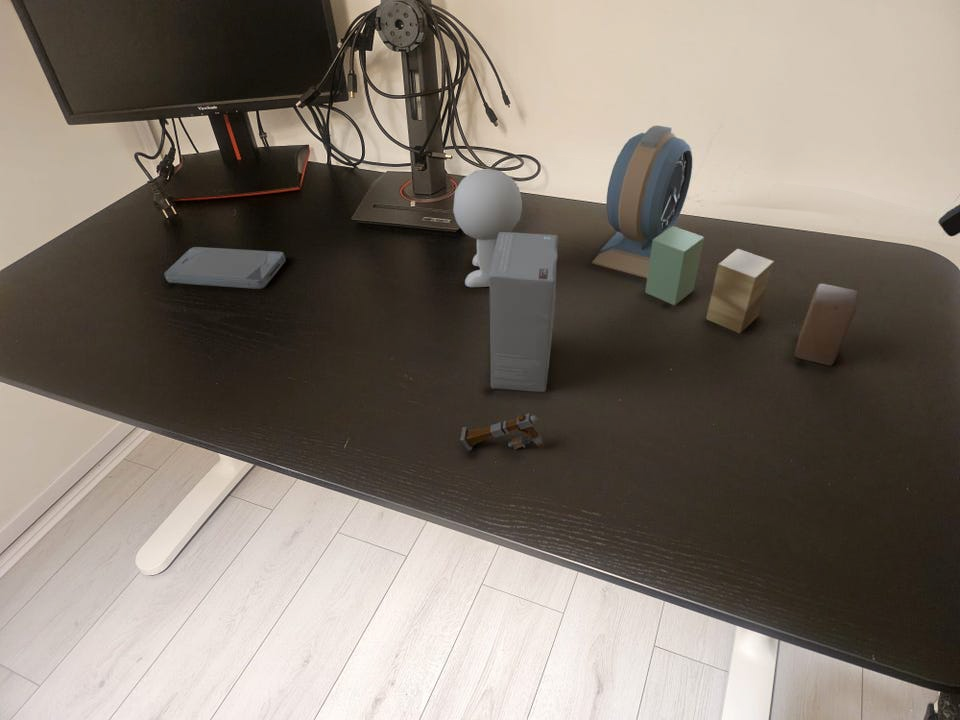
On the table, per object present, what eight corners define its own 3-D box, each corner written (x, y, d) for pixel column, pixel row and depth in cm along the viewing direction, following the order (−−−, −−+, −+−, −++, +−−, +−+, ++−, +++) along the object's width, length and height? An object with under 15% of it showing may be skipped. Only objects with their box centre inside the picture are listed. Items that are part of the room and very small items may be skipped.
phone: (263, 289, 87) (260, 282, 86) (164, 282, 90) (160, 275, 89) (287, 259, 93) (285, 251, 92) (194, 253, 96) (191, 246, 95)
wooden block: (832, 367, 68) (856, 310, 63) (793, 358, 70) (814, 301, 64) (835, 346, 71) (859, 289, 65) (798, 337, 72) (818, 281, 67)
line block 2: (757, 316, 76) (774, 261, 70) (739, 334, 73) (755, 278, 68) (724, 302, 78) (737, 248, 73) (705, 319, 76) (718, 264, 71)
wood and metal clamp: (551, 448, 61) (532, 419, 58) (480, 466, 64) (459, 438, 61) (551, 434, 62) (533, 405, 59) (482, 452, 65) (461, 425, 62)
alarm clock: (655, 285, 82) (674, 157, 70) (588, 266, 86) (596, 143, 75) (691, 236, 91) (713, 115, 79) (628, 222, 95) (641, 105, 83)
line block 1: (693, 290, 81) (704, 236, 75) (674, 305, 78) (684, 251, 73) (664, 278, 83) (672, 225, 78) (644, 292, 81) (652, 239, 76)
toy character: (466, 254, 91) (458, 156, 81) (527, 257, 89) (526, 158, 79) (453, 289, 84) (442, 187, 74) (518, 293, 82) (516, 189, 73)
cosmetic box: (497, 344, 75) (491, 228, 64) (556, 346, 74) (559, 229, 63) (488, 392, 68) (480, 273, 58) (552, 396, 67) (555, 275, 57)
